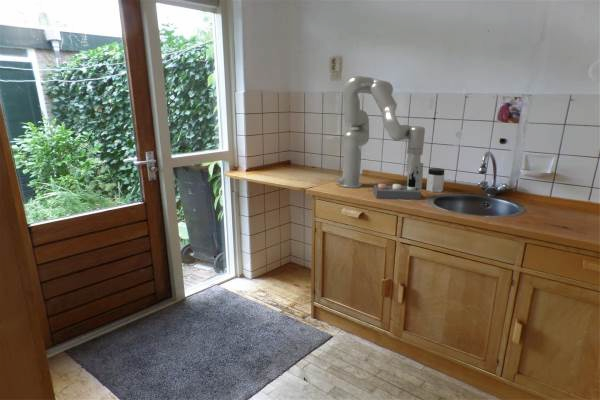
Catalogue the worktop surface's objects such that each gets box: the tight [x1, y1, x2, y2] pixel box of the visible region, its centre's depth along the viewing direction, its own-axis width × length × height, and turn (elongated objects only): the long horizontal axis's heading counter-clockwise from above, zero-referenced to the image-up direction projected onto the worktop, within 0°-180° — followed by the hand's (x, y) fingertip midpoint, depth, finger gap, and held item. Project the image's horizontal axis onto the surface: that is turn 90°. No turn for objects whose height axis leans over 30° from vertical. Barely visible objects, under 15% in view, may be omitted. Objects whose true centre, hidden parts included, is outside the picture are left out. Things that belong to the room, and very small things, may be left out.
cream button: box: [392, 183, 402, 190], centre depth 203 cm, size 4×4×4 cm
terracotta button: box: [377, 183, 388, 189], centre depth 203 cm, size 4×4×4 cm
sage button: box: [406, 185, 416, 190], centre depth 203 cm, size 4×4×4 cm
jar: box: [425, 167, 445, 193], centre depth 216 cm, size 9×8×12 cm
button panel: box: [373, 184, 422, 201], centre depth 203 cm, size 22×12×4 cm, turn 87°
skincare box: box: [406, 161, 424, 190], centre depth 222 cm, size 8×6×15 cm
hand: (411, 186), depth 202 cm, fingers closed
